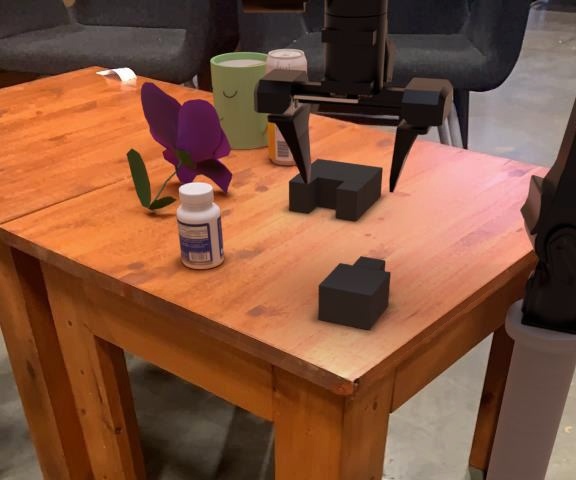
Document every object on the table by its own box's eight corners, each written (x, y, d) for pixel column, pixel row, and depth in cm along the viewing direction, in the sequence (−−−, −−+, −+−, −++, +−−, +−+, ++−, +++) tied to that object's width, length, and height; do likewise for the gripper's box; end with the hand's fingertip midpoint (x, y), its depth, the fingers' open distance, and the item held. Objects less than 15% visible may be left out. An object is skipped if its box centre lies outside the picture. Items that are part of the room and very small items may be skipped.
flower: (208, 254, 108) (254, 183, 111) (164, 172, 95) (219, 93, 98) (131, 233, 114) (177, 165, 117) (79, 153, 101) (133, 79, 104)
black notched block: (381, 196, 110) (382, 167, 107) (355, 221, 104) (357, 191, 101) (317, 186, 113) (317, 158, 111) (289, 210, 107) (288, 181, 104)
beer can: (308, 154, 124) (308, 48, 114) (305, 166, 120) (305, 58, 110) (271, 153, 125) (268, 48, 115) (266, 166, 120) (263, 57, 110)
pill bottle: (202, 248, 98) (196, 176, 92) (232, 259, 95) (228, 186, 89) (172, 262, 95) (163, 189, 89) (203, 274, 92) (196, 199, 86)
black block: (395, 295, 87) (398, 262, 85) (369, 330, 82) (371, 295, 79) (347, 286, 89) (348, 253, 87) (318, 319, 84) (318, 285, 81)
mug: (203, 138, 131) (196, 59, 123) (252, 126, 135) (249, 49, 127) (245, 157, 123) (241, 74, 115) (296, 144, 128) (295, 63, 120)
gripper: (471, 0, 73) (450, 169, 84) (286, -7, 78) (288, 154, 88) (452, 23, 65) (432, 206, 76) (248, 13, 70) (255, 188, 80)
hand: (349, 186), depth 80 cm, fingers open, 9 cm apart
